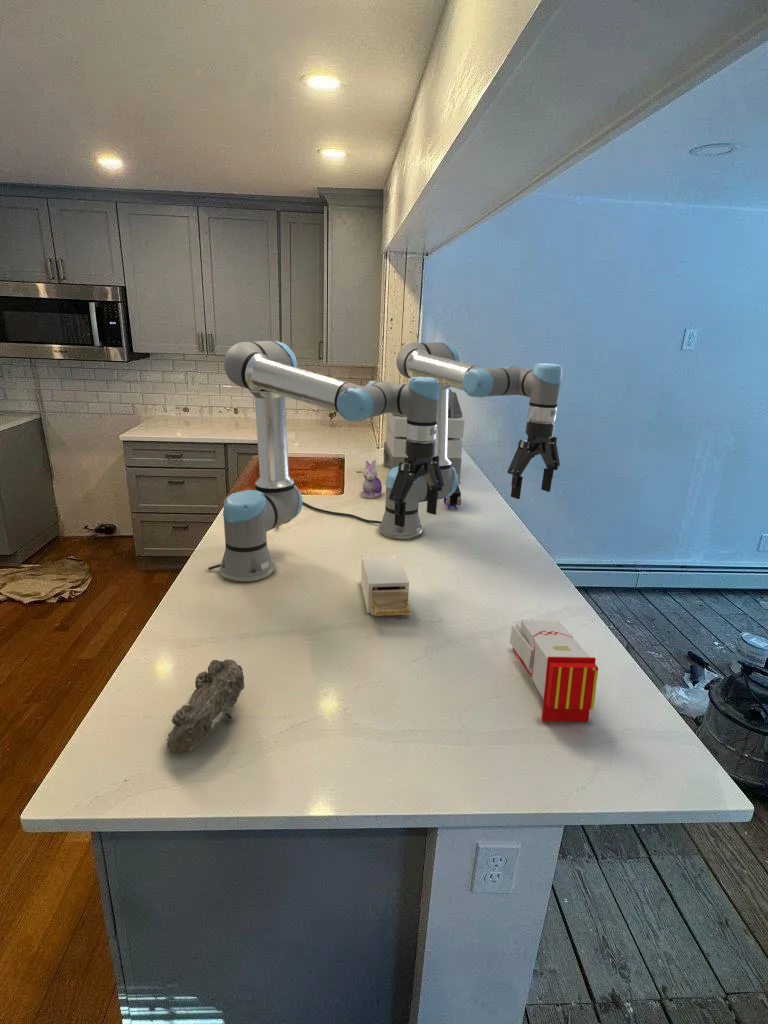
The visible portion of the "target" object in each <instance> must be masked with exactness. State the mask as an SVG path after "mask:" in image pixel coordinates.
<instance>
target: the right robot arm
mask: <svg viewBox="0 0 768 1024" xmlns="http://www.w3.org/2000/svg"><path fill="white" fill-rule="evenodd" d="M461 359H462V358H461V355H460V353H459V351H458V349H456V347H455V346H454V345H453V344H451V343H447V342H440V341H439V342H411V343H408V344H406V345H404V346H403V347H401V349H400V350H399V352H398V353H397V356H396V359H395V360H396V368H397V370H398V372H399V373H400V374H401V376H402V377H405V378H407V379H410V378H411V377H431V378H435V379H437V380H438V381H439V403H438V415H437V427H436V439H435V440H434V442H435V443H436V445H435V455H437V456H439V466H440V470H441V474H442V478H443V482H444V486H443V487H442V491H438V500H439V501H440V500H443V499H444V498H446V497H449V496H451V495H452V494H453V493H454V492H455V490H456V488H457V484H458V485H459V483H458V476H457V473H456V470H455V469H454V468H453V467H452V466H451V461H450V460H449V459H448V458H447V440H448V392H449V389H451V388H453V389H457V390H460V391H463V392H465V393H466V395H467V396H469V397H472V398H485V397H486V398H487V397H498V396H500V397H502V396H503V397H504V396H522V397H527V398H529V403H528V408H527V409H528V410H527V416H526V417H527V418H526V419H527V422H526V425H525V434H526V436H527V438H526V440H523V439H519V440H518V444H517V449H516V451H515V453H514V455H513V458H512V460H511V461H510V464H509V466H508V468H507V472H506V473H507V474H509V475H511V476H512V477H511V489H510V490H511V491H510V497H511V498H513V499H516V500H520V499H521V493H522V485H523V484H522V483H523V478H524V477H523V476H522V474H523V473H524V471H525V469H526V468H527V467H528V465H529V463H530V462H531V460H532V459H533V458H535V456H538V455H540V457H541V458H542V461H543V463H544V465H545V467H544V468H543V473H542V480H541V486H540V487H541V488H540V490H542V491H545V492H547V493H550V492H551V488H552V481H553V479H554V471H558V469H559V467H560V466H561V462H560V457H559V452H558V446H557V445H558V443H557V442H558V441H557V440H558V437H557V436H554V432H555V427H556V426H555V425H556V424H555V423H554V422H555V421H556V417H557V410H558V402H559V397H560V392H561V386H562V382H563V381H562V378H563V377H562V376H563V367H562V366H561V365H560V364H555V363H546V362H539V363H536V364H534V365H533V369H531V368H526V367H520V366H517V365H513V366H510V365H507V366H504V367H497V368H496V367H494V368H493V367H485V366H480V365H475V364H471V363H467V362H463V361H462V360H461ZM398 468H399V466H397V467H394V468H392V469H391V470H390V469H389V470H388V472H387V475H386V479H385V504H384V505H385V507H384V508H385V509H384V513H383V515H382V519H381V520H372V519H367V518H364V517H360V516H358V515H355V514H353V513H351V514H350V513H345V512H336V511H332V510H331V511H330V510H326V509H322V508H319V507H316V506H313V505H311V504H308V503H306V502H305V501H303V503H302V506H303V505H304V506H305V507H307V508H310V509H311V510H314V511H317V512H320V513H325V514H330V515H334V516H335V515H336V516H342V517H348V518H354V519H357V520H359V521H362V522H365V523H368V524H369V523H371V524H379V525H378V533H379V534H380V535H381V536H382V537H385V538H387V539H389V540H395V541H410V540H415V539H418V538H420V537H421V536H422V535H423V525H422V524H421V518H420V515H419V507H420V506H419V505H420V503H424V502H425V503H426V502H427V498H428V490H429V489H431V488H430V486H429V485H428V483H427V481H426V479H425V478H424V476H421V477H419V478H417V480H416V481H414V482H413V484H412V486H411V488H410V490H409V492H408V494H407V496H406V498H405V500H404V502H406V509H405V527H400V526H397V525H395V513H394V509H395V502H394V501H391V500H389V496H390V493H391V490H392V487H393V484H394V482H395V479H396V476H397V473H398ZM409 475H411V474H409ZM431 490H432V489H431ZM400 498H401V497H400ZM438 500H437V501H438Z"/></svg>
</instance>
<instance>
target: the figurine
mask: <svg viewBox="0 0 768 1024" xmlns="http://www.w3.org/2000/svg"><path fill="white" fill-rule="evenodd" d="M364 462H365V463H364V465H365V470H364V472H363V477H364V481H363V482H362V493H361V494H362V496H363V498H366V499H373V498H378V497H380V496H381V495H382V491H383V486H382V485H383V484H382V482H381V480H380V478H378V477H377V476H378V473H377V470H376V465H377V460H376V459H373V460H372V462H371V463H370V462H369V460H365V461H364Z"/></svg>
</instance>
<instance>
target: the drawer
mask: <svg viewBox="0 0 768 1024" xmlns="http://www.w3.org/2000/svg"><path fill="white" fill-rule="evenodd" d="M409 593H410V591H408V589H403V586H399V587H373V590H372V599H371V613H370V616H375V617H378V616H379V617H381V616H404V615H405V616H406V615H408V616H409V615H412V614H413V610H412V608H410V605H409Z"/></svg>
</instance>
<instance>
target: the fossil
mask: <svg viewBox="0 0 768 1024" xmlns="http://www.w3.org/2000/svg"><path fill="white" fill-rule="evenodd" d="M243 670H244V669H243V667H242V665H240V664H237V662H236V661H235V660H234V659H232V658H231V659H227V658H226V659H224V660H223V661H222V660H217V659H212V660H211V661H210V663H209V665H208V666H207V671H201V672H199V673H198V674H197V675H196V676H195V680H194V684H195V685H194V687H195V689H194V690H193V693H192V694H191V697H190V698H189V700H188V704H184V705H182V706H181V707H180V709H177V710H176V711H175V713H174V715H173V716H172V718H171V723H172V724H173V727H172V730H171V731H170V732H168V734H167V738H166V741H167V742H166V745H167V749H168V750H169V751H173V752H174V753H176V754H178V753H182V752H188V751H189V752H192V751H193V750H195V748H196V747H197V746H199V744H200V743H201V742H203V741H204V740H205V739H206V738H207V737H208V736H209V735H210V734H211V733H212V732H214V730H215V729H217V727H218V726H219V724H220V722H221V721H222V720H223V719H224V718H225V716H226V717H227V719H229V720H233V717H232V715H230V714H229V710H230V709H231V708H234V706H235V704H236V703H237V702H238V699H239V697H240V695H241V693H242V691H243V690H245V689H244V688H245V675H244V671H243Z"/></svg>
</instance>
